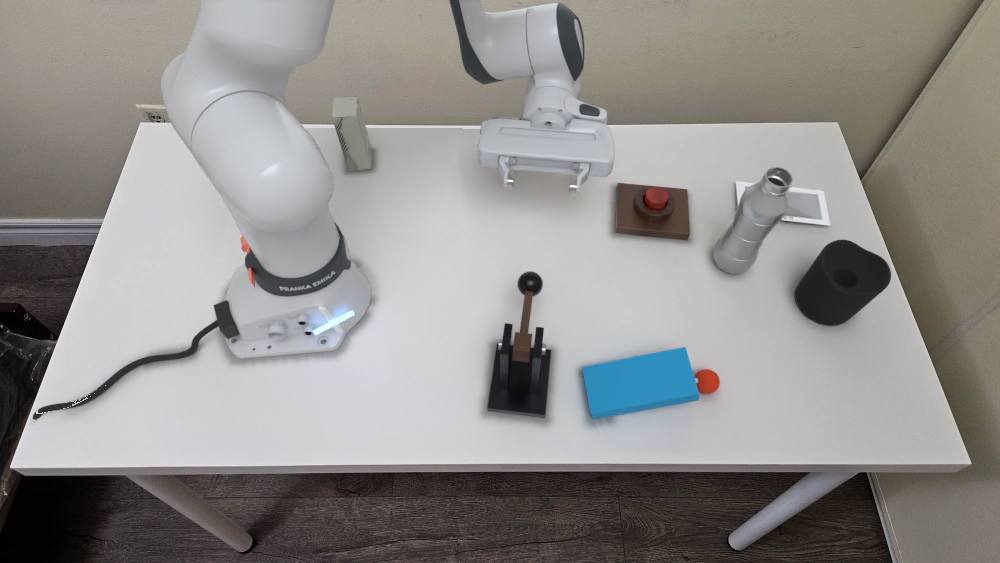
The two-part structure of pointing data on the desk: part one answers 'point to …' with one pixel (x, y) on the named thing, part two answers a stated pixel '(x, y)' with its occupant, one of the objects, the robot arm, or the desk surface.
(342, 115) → the box
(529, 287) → the lever
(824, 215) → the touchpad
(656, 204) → the button
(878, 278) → the pen holder
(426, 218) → the desk surface
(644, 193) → the button block
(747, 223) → the plastic bottle
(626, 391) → the blue block with knob
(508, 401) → the bracket
